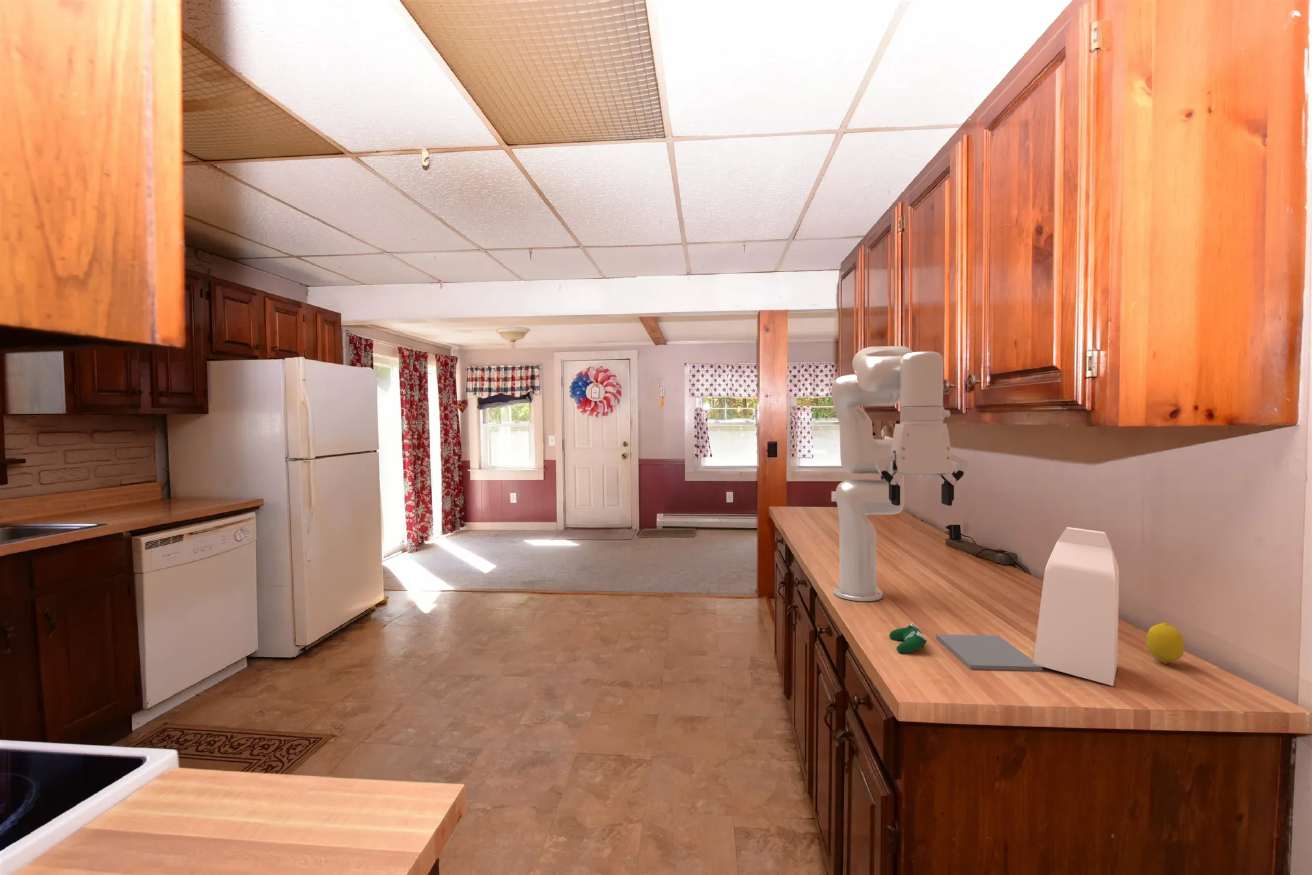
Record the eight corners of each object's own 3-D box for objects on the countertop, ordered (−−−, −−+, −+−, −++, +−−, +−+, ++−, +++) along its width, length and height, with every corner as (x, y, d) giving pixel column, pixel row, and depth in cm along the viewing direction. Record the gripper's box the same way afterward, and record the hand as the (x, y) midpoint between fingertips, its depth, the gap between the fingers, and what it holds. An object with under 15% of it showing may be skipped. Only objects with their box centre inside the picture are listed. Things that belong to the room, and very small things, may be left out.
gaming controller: (909, 664, 116) (932, 645, 115) (895, 649, 117) (918, 630, 116) (899, 646, 125) (920, 629, 125) (886, 633, 126) (907, 615, 125)
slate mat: (936, 637, 125) (936, 634, 125) (998, 639, 124) (998, 635, 124) (970, 669, 109) (970, 665, 109) (1042, 670, 108) (1042, 666, 108)
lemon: (1139, 660, 113) (1140, 620, 112) (1156, 655, 115) (1157, 616, 115) (1173, 671, 108) (1174, 629, 107) (1190, 666, 110) (1191, 625, 109)
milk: (1033, 663, 109) (1042, 529, 108) (1042, 645, 118) (1051, 520, 116) (1113, 685, 101) (1125, 541, 100) (1117, 664, 110) (1128, 530, 108)
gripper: (958, 416, 114) (958, 502, 114) (869, 417, 115) (869, 502, 115) (977, 415, 106) (976, 507, 107) (881, 416, 108) (881, 507, 108)
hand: (921, 504), depth 111 cm, fingers open, 9 cm apart
